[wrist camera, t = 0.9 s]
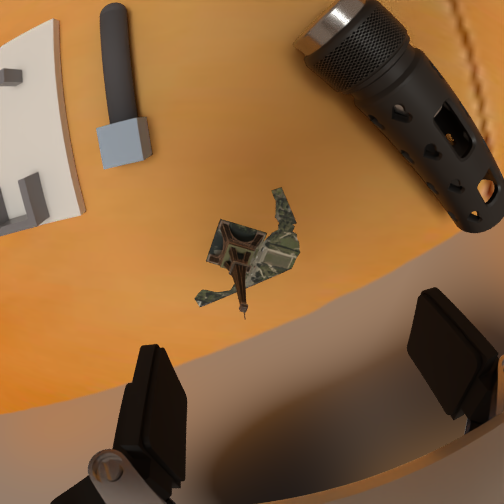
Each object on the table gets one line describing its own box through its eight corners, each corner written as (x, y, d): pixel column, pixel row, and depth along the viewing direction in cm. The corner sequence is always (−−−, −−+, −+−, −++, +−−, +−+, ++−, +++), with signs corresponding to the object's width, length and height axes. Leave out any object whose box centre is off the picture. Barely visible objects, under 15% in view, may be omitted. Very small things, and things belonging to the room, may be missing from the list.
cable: (99, 13, 21) (85, 3, 17) (134, 2, 21) (124, -10, 17) (116, 162, 29) (103, 169, 25) (152, 154, 29) (143, 160, 25)
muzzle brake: (434, 215, 35) (484, 248, 26) (276, 59, 26) (304, 36, 17) (470, 165, 33) (524, 187, 23) (329, 4, 23) (372, -30, 14)
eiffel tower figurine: (199, 306, 38) (194, 388, 26) (156, 240, 33) (128, 311, 22) (310, 258, 36) (350, 328, 25) (279, 182, 32) (316, 227, 20)
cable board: (-34, 75, 19) (-58, 76, 15) (59, 21, 20) (37, 11, 15) (-5, 234, 29) (-26, 251, 25) (86, 210, 30) (67, 227, 26)
